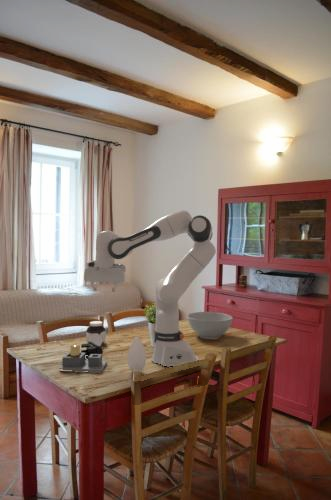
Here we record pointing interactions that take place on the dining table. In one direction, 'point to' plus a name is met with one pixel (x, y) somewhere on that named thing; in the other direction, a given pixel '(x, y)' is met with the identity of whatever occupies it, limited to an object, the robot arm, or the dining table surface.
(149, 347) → the dining table surface
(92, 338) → the spread jar
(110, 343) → the dining table surface
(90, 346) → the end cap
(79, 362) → the socket block
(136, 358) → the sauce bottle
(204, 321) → the decorative bowl
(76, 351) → the pipe nipple
